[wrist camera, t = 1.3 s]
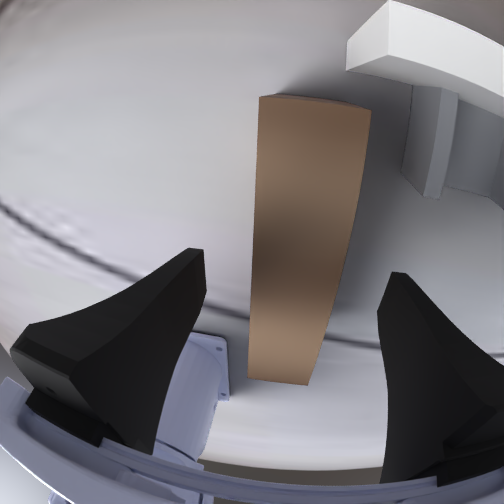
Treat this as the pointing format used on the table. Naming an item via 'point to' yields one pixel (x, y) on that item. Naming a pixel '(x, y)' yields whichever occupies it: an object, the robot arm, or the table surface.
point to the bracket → (440, 97)
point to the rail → (301, 227)
